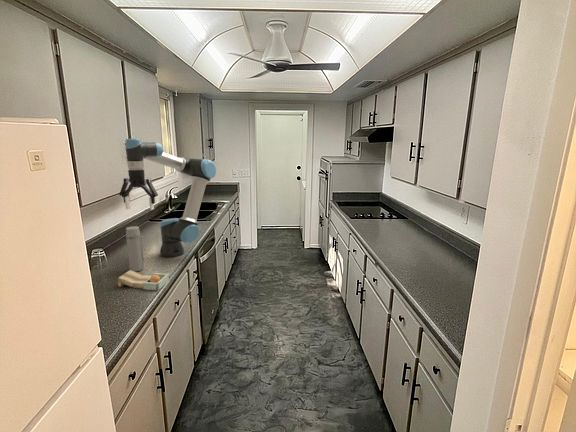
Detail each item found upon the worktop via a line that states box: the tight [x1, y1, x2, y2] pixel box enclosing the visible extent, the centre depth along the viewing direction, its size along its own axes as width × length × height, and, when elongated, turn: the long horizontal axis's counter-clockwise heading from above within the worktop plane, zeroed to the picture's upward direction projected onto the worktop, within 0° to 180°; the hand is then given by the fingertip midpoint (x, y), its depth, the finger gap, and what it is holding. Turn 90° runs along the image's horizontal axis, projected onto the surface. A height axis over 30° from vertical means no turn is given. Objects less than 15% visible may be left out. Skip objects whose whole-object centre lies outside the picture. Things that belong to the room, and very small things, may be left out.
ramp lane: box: [117, 269, 153, 289], centre depth 168 cm, size 10×14×5 cm
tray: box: [142, 272, 170, 291], centre depth 167 cm, size 12×8×4 cm, turn 174°
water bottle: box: [125, 225, 147, 273], centre depth 183 cm, size 9×8×25 cm
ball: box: [150, 274, 160, 283], centre depth 167 cm, size 5×5×5 cm
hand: (140, 209), depth 173 cm, fingers open, 13 cm apart
